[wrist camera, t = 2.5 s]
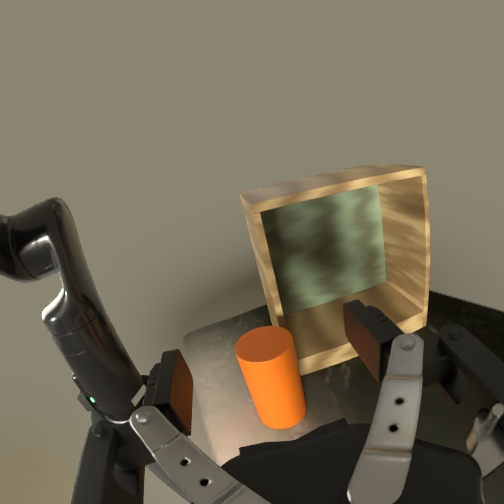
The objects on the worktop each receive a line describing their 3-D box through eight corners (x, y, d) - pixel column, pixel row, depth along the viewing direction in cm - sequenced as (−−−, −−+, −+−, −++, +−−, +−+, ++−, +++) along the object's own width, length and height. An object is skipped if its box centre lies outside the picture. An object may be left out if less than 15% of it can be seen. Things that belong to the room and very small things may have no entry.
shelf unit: (291, 379, 34) (249, 204, 27) (273, 331, 46) (239, 192, 38) (426, 325, 35) (425, 166, 28) (387, 293, 47) (375, 163, 39)
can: (263, 434, 27) (237, 368, 23) (256, 400, 32) (232, 334, 28) (312, 420, 27) (299, 351, 23) (299, 388, 32) (285, 319, 29)
